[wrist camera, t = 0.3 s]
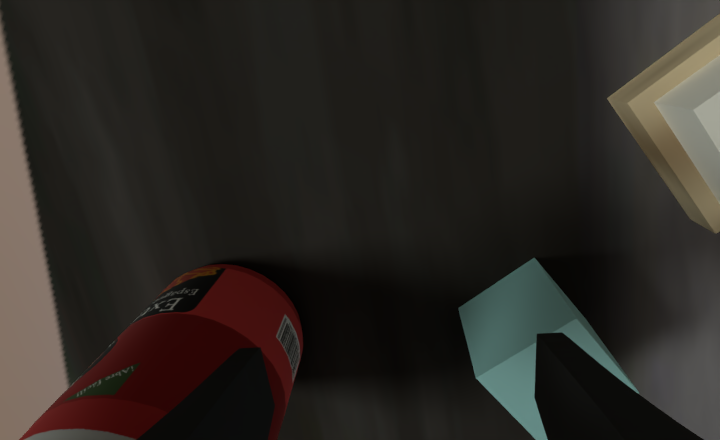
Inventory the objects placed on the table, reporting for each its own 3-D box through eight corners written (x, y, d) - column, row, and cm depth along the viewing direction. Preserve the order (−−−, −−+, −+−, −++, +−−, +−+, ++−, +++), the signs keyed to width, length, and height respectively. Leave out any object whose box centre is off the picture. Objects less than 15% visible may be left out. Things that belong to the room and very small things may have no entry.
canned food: (207, 230, 21) (27, 402, 10) (336, 318, 22) (288, 546, 12) (140, 327, 23) (-57, 542, 13) (259, 401, 25) (165, 647, 14)
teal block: (584, 317, 21) (639, 393, 16) (509, 362, 22) (539, 443, 18) (534, 256, 20) (576, 318, 15) (457, 307, 21) (476, 377, 17)
